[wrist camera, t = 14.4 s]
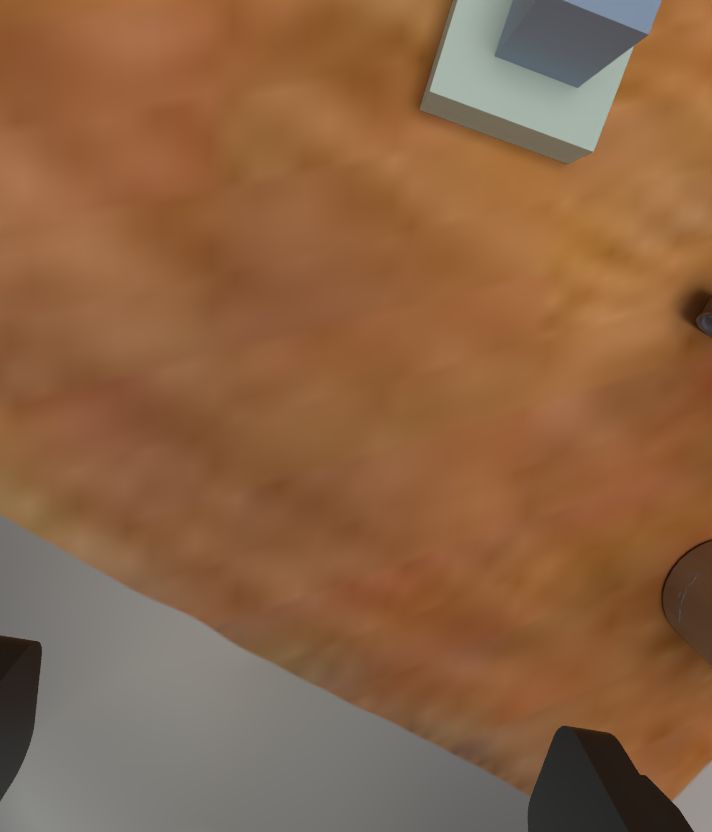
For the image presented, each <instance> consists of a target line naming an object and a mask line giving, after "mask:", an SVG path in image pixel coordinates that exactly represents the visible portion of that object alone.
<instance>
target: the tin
mask: <svg viewBox="0 0 712 832" xmlns="http://www.w3.org/2000/svg"><path fill="white" fill-rule="evenodd" d="M696 323H697V325H698V327H699V328H700V329H701V330H702V331H703V332H704V333H706V334H707V335H709V336H710V337H711V338H712V296H711V298H710V299H709V301H708V303H707V305H706V306H705V308H704V310H703V311H702V313H701V314H700V315H699V316H698V317H697V318H696Z"/></svg>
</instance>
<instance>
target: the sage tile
mask: <svg viewBox="0 0 712 832" xmlns="http://www.w3.org/2000/svg"><path fill="white" fill-rule="evenodd" d="M512 1H513V0H453V1H452V5H451V8H450V11H449V14H448V18H447V21H446V24H445V27H444V31H443V34H442V37H441V40H440V44H439V47H438V50H437V53H436V57H435V60H434V63H433V66H432V70H431V73H430V76H429V80H428V83H427V86H426V89H425V93H424V96H423V99H422V102H421V106H420V109H419V110H421V111H423V112H426V113H429V114H432V115H434V116H437V117H440V118H443V119H445V120H448V121H451V122H454V123H456V124H459V125H462V126H464V127H467V128H470V129H473V130H475V131H478V132H481V133H484V134H486V135H489V136H492V137H495V138H497V139H500V140H503V141H506V142H508V143H511V144H514V145H516V146H519V147H522V148H525V149H527V150H530V151H533V152H536V153H538V154H541V155H544V156H547V157H549V158H552V159H555V160H558V161H560V162H563V163H566V164H568V163H571V162H573V161H575V160H577V159H579V158H581V157H584V156H586V155H588V154H590V153H592V152H594V149H595V147H596V144H597V142H598V139H599V136H600V134H601V131H602V128H603V126H604V123H605V121H606V118H607V115H608V113H609V110H610V107H611V105H612V102H613V100H614V97H615V94H616V92H617V89H618V87H619V84H620V81H621V79H622V76H623V73H624V71H625V68H626V66H627V63H628V60H629V58H630V55H631V52H632V50H633V47H634V46H633V47H632V48H630V49H629V50H628V51H626V52H625V53H624V54H622V55H621V56H620V57H618V58H617V59H616V60H614V61H613V62H612V63H610V64H609V65H608V66H606V67H605V68H604V69H602V70H601V71H600V72H598V73H597V74H596V75H594V76H593V77H592V78H590V79H589V80H588V81H586V82H585V83H584V84H582V85H581V86H580V87H578V88H577V87H574V86H571V85H569V84H566V83H564V82H561V81H558V80H556V79H553V78H550V77H548V76H545V75H543V74H540V73H537V72H535V71H532V70H529V69H527V68H524V67H522V66H519V65H516V64H514V63H511V62H509V61H506V60H503V59H501V58H498V57H495V53H496V50H497V47H498V44H499V41H500V38H501V35H502V32H503V29H504V26H505V23H506V20H507V17H508V14H509V10H510V7H511V4H512Z"/></svg>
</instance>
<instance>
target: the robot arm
mask: <svg viewBox="0 0 712 832" xmlns="http://www.w3.org/2000/svg"><path fill="white" fill-rule="evenodd" d="M663 608H664V613H665V615H666V617H667V619H668V621H669V623H670V624H671V625H672V627H673V628H674V629H675V630H676V631H677V632H678V633H679V634H680V635H681V636H682V637H683V638H684V639H685V640H686V641H687V642H688V643H689V644H690V645H691V647H692V648H693V649H694V650H695V651H696V652H697V653H698V654H699V655H700V656H701V657H702V658H703V659H704V660H705V661H706V662H707V663H708V664H709V665H710V666H711V667H712V541H710V542H707V543H705V544H702V545H700V546H698V547H697V548H695V549H693V550H692V551H690V552H689V553H688V554H687V555H685V556H684V557H683V558H682V559H681V560H680V561H679V562H678V563H677V565H676V566H675V567H674V568H673V570H672V571H671V573H670V575H669V577H668V579H667V581H666V584H665V588H664V591H663ZM41 656H42V647H41V644H40V642H38V641H31V640H25V639H19V638H13V637H6V636H0V801H1V799H2V798H3V796H4V794H5V792H6V791H7V789H8V788H9V786H10V785H11V783H12V782H13V780H14V778H15V777H16V775H17V773H18V771H19V769H20V767H21V765H22V763H23V760H24V758H25V756H26V753H27V750H28V748H29V745H30V742H31V737H32V734H33V730H34V723H35V713H36V704H37V694H38V685H39V675H40V666H41ZM528 831H529V832H694V831H693V830H692V828H691V827H690V825H689V824H688V822H687V821H686V819H685V818H684V816H683V815H682V813H681V812H680V810H679V809H678V808H677V807H676V806H675V805H674V804H673V803H672V802H671V801H670V800H669V798H668V797H667V796H666V795H665V794H664V793H663V792H662V791H661V790H660V789H659V788H658V787H657V786H656V785H655V784H654V783H653V782H652V781H651V780H650V779H649V778H648V777H647V776H645V775H640V774H639V773H638V771H637V769H636V768H635V766H634V765H633V763H632V761H631V760H630V758H629V757H628V755H627V753H626V752H625V750H624V749H623V747H622V745H621V744H620V742H619V741H618V740H617V738H616V737H615V736H613V735H612V734H610V733H607V732H601V731H594V730H588V729H582V728H575V727H569V726H562V727H560V728H559V729H558V730H557V731H556V733H555V735H554V737H553V740H552V743H551V745H550V748H549V750H548V753H547V756H546V758H545V761H544V764H543V766H542V769H541V772H540V774H539V777H538V780H537V782H536V785H535V787H534V790H533V793H532V795H531V798H530V802H529V807H528Z"/></svg>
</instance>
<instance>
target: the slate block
mask: <svg viewBox="0 0 712 832" xmlns="http://www.w3.org/2000/svg"><path fill="white" fill-rule="evenodd" d="M661 1H662V0H513V1H512V4H511V7H510V10H509V14H508V17H507V20H506V23H505V26H504V29H503V32H502V35H501V38H500V41H499V44H498V47H497V50H496V53H495V57H498V58H501V59H503V60H506V61H509V62H511V63H514V64H516V65H519V66H522V67H524V68H527V69H529V70H532V71H535V72H537V73H540V74H543V75H545V76H548V77H550V78H553V79H556V80H558V81H561V82H564V83H566V84H569V85H571V86H574V87H577V88H578V87H580V86H581V85H582V84H584V83H585V82H586V81H588V80H589V79H590V78H592V77H593V76H594V75H596V74H597V73H598V72H600V71H601V70H602V69H604V68H605V67H606V66H608V65H609V64H610V63H612V62H613V61H614V60H616V59H617V58H618V57H620V56H621V55H622V54H624V53H625V52H626V51H628V50H629V49H630V48H632V47H633V46H634V45H635V44H637V43H638V42H639V41H641V40H642V39H643V38H645V37H646V36H647V35H649V32H650V30H651V27H652V24H653V22H654V19H655V17H656V14H657V11H658V9H659V6H660V4H661Z"/></svg>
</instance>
